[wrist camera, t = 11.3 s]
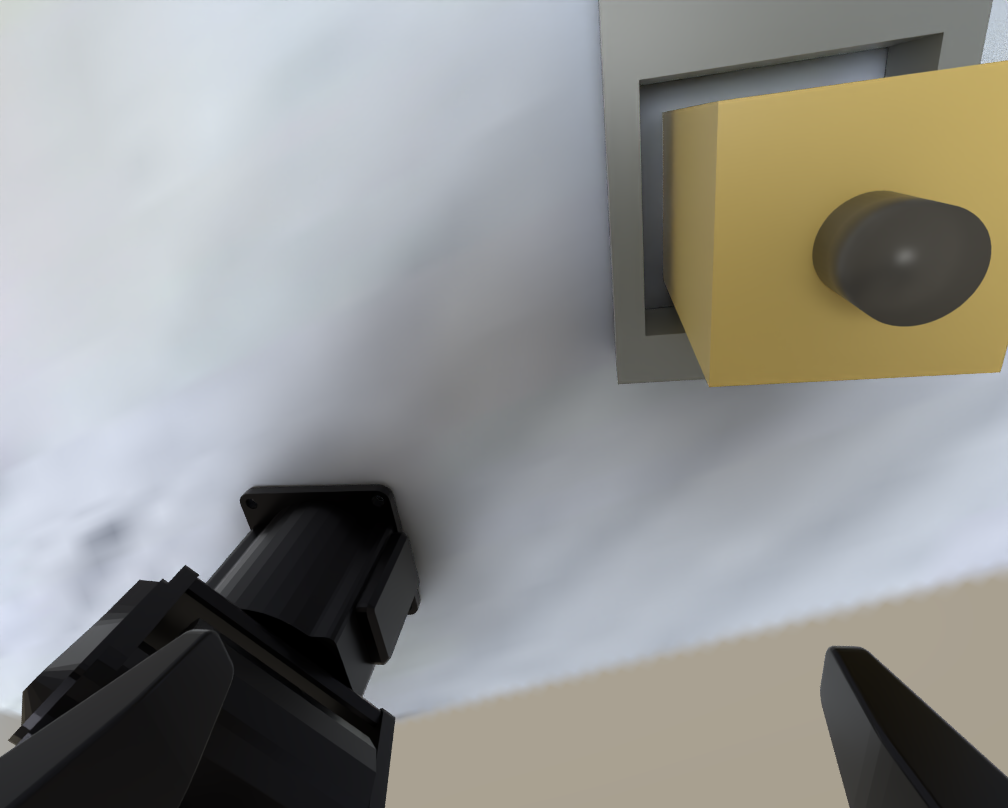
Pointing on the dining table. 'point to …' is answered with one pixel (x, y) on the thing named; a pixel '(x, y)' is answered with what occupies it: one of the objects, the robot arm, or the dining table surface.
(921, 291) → the plug
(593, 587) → the dining table surface
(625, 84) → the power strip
